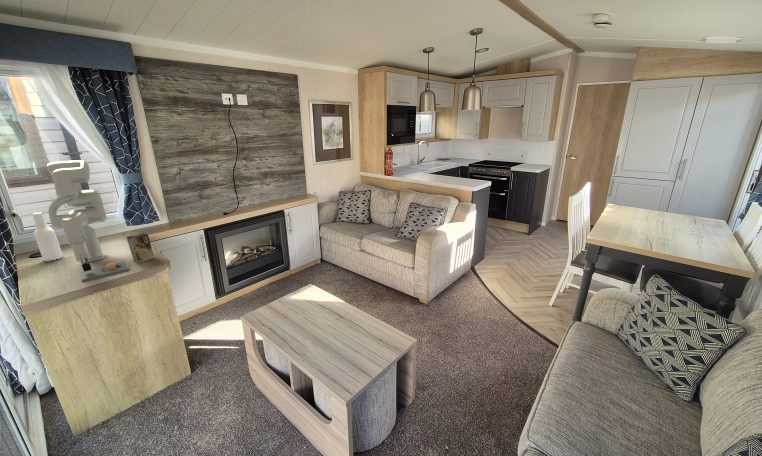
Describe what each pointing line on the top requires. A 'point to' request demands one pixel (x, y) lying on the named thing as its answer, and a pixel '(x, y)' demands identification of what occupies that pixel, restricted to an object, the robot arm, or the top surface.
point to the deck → (103, 271)
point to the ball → (110, 266)
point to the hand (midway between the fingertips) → (87, 270)
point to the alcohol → (46, 239)
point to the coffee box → (140, 247)
